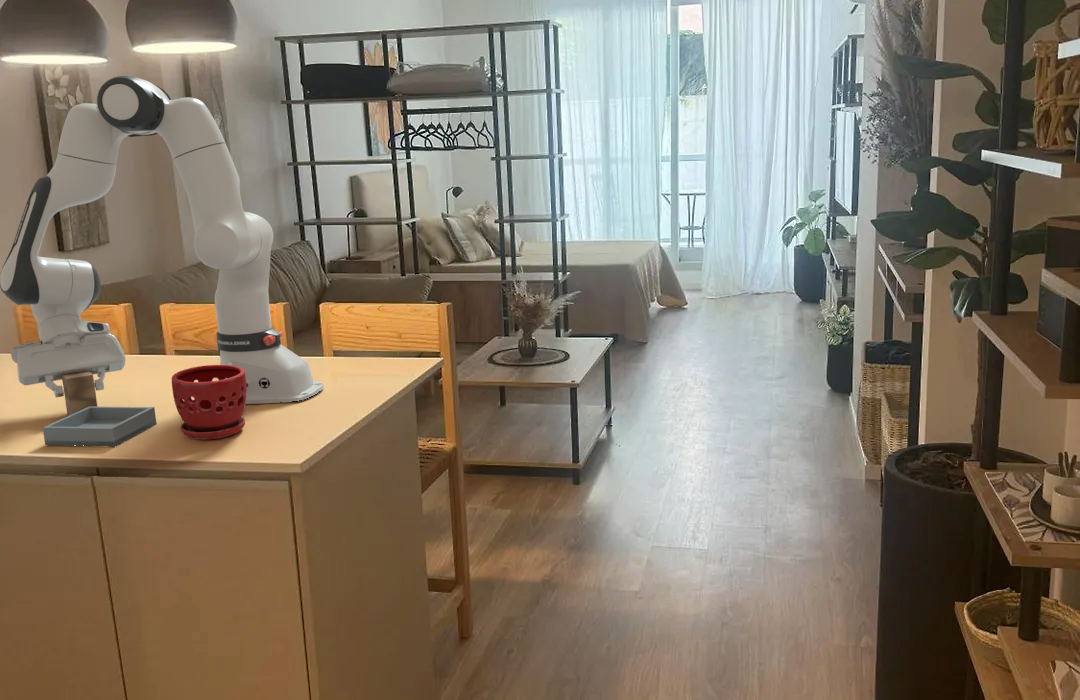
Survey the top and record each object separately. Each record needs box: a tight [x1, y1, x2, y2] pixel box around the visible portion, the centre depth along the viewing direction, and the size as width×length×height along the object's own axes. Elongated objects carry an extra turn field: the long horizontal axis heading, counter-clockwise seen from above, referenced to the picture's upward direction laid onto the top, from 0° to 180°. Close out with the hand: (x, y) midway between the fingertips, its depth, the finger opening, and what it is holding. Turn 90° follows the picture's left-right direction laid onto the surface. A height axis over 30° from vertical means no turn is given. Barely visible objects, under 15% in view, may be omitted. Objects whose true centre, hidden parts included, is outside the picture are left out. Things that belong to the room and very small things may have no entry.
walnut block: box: [61, 371, 98, 416], centre depth 193 cm, size 5×5×8 cm
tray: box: [42, 406, 157, 448], centre depth 179 cm, size 14×14×4 cm
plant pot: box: [171, 364, 246, 441], centre depth 177 cm, size 13×13×12 cm
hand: (80, 392), depth 193 cm, fingers open, 6 cm apart
